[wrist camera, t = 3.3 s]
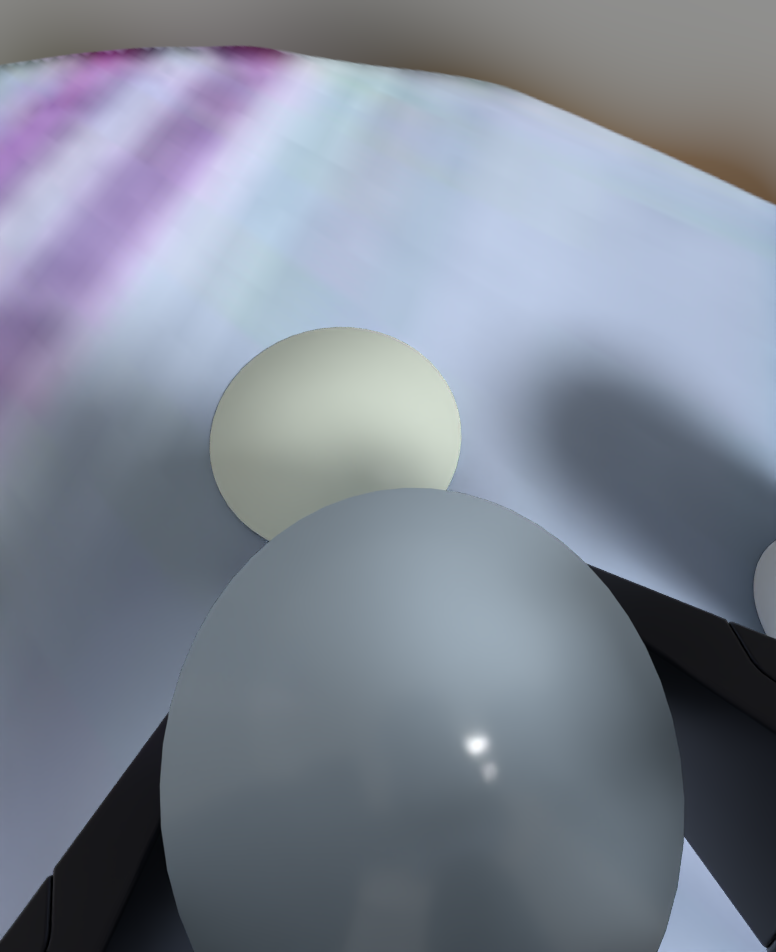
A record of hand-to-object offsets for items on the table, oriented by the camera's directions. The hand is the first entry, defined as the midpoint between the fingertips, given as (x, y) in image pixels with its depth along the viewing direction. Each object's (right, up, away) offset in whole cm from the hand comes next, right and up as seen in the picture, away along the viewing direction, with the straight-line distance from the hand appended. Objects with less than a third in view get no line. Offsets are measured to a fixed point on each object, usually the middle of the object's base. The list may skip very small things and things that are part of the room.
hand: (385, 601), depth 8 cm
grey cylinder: (0, -3, +6) cm, 7 cm away
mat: (-2, +5, +9) cm, 10 cm away
